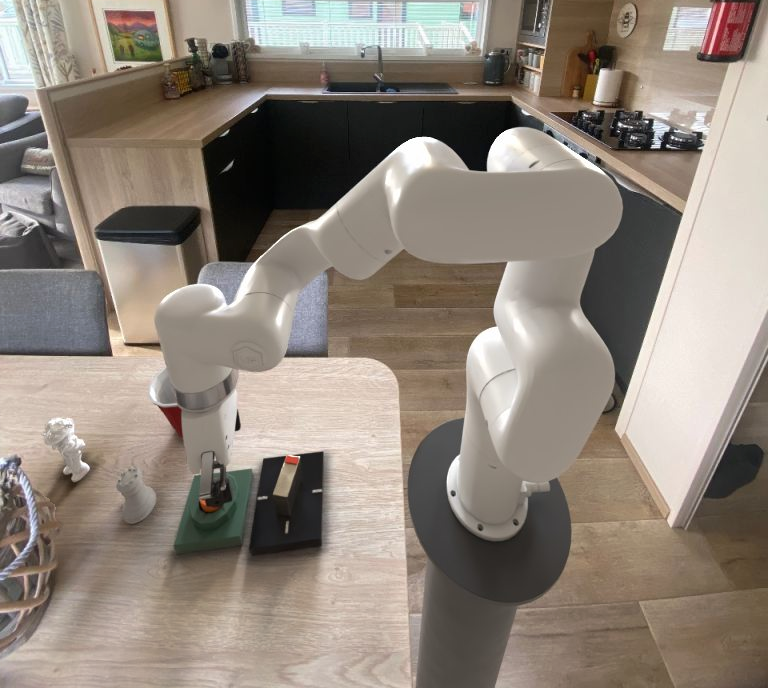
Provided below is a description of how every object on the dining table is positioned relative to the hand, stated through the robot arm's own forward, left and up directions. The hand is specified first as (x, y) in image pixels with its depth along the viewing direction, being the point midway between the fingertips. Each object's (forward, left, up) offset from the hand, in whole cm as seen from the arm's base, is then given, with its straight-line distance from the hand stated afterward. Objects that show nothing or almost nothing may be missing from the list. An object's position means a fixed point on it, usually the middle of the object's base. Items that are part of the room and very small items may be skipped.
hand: (225, 463), depth 55 cm
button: (+3, 0, -8) cm, 8 cm away
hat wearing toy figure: (+28, -9, -12) cm, 31 cm away
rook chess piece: (+15, -2, -12) cm, 19 cm away
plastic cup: (+11, -15, -12) cm, 22 cm away
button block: (+3, 0, -11) cm, 12 cm away
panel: (-8, 0, -11) cm, 14 cm away
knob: (-8, 0, -9) cm, 12 cm away
